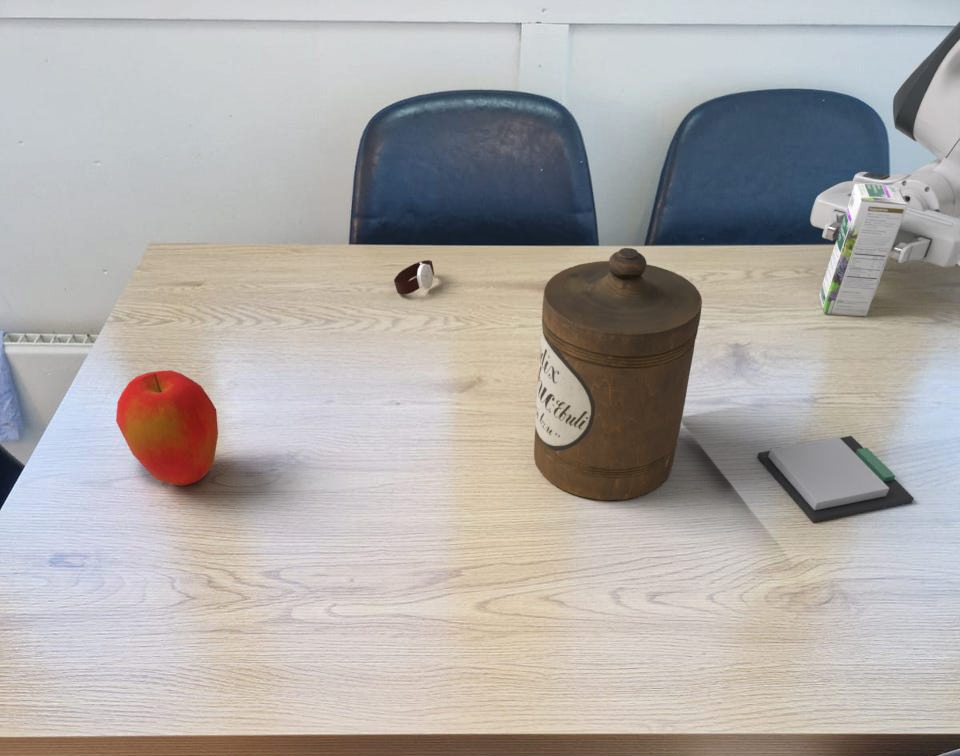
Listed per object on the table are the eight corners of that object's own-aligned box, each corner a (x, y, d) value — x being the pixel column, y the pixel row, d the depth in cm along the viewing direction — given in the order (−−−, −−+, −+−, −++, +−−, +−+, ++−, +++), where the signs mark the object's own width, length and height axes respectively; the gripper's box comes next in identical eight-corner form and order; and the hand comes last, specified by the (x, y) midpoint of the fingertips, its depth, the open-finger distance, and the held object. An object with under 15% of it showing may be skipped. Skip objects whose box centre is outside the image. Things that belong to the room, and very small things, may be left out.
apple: (121, 491, 88) (81, 387, 79) (173, 443, 94) (142, 341, 85) (198, 513, 86) (167, 408, 77) (247, 463, 91) (223, 359, 82)
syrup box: (817, 294, 118) (852, 181, 107) (862, 297, 117) (901, 184, 107) (822, 314, 114) (859, 199, 103) (868, 317, 114) (910, 202, 103)
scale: (844, 454, 93) (854, 427, 91) (905, 517, 86) (918, 489, 83) (752, 471, 91) (760, 444, 88) (808, 537, 84) (818, 510, 81)
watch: (416, 302, 116) (415, 276, 113) (386, 295, 117) (384, 268, 114) (442, 279, 120) (442, 252, 118) (413, 272, 122) (411, 246, 119)
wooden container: (524, 422, 97) (535, 220, 80) (654, 416, 98) (690, 215, 81) (543, 505, 87) (559, 294, 71) (687, 498, 88) (736, 288, 72)
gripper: (977, 259, 113) (931, 294, 107) (835, 215, 123) (785, 245, 116) (998, 209, 109) (952, 243, 102) (849, 168, 118) (798, 196, 111)
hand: (862, 244), depth 109 cm, fingers open, 8 cm apart
